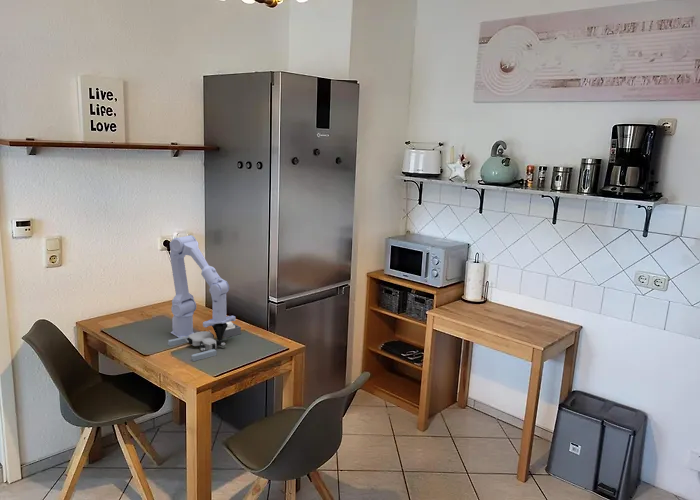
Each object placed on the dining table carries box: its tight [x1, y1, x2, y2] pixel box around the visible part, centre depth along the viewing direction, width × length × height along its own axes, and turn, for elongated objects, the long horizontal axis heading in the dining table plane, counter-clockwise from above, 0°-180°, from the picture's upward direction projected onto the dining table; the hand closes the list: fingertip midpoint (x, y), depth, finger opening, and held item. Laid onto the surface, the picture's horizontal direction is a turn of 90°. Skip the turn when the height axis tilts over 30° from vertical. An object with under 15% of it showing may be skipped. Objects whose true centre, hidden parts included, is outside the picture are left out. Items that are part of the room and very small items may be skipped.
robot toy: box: [183, 330, 226, 352], centre depth 224 cm, size 12×4×15 cm
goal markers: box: [167, 336, 218, 362], centre depth 220 cm, size 22×10×2 cm, turn 44°
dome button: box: [226, 321, 235, 330], centre depth 240 cm, size 6×6×5 cm
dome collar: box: [223, 322, 242, 339], centre depth 240 cm, size 8×8×3 cm
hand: (219, 339), depth 229 cm, fingers closed
